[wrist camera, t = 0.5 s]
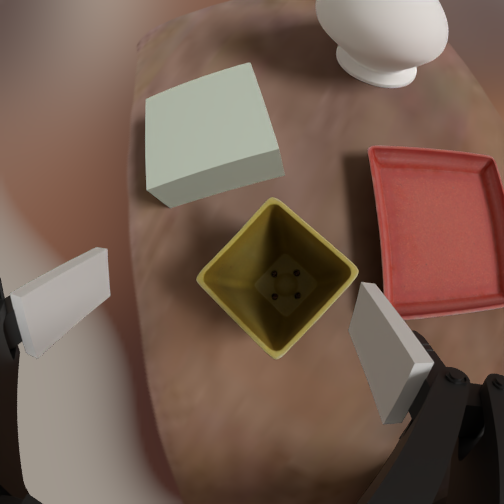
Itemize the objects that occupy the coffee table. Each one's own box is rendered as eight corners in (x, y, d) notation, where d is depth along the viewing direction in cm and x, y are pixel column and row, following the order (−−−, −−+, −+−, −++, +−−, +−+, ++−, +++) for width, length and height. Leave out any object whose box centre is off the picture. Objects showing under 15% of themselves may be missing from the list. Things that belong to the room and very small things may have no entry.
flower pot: (286, 347, 28) (275, 363, 19) (226, 288, 30) (192, 278, 21) (346, 283, 28) (362, 270, 19) (283, 227, 30) (272, 193, 22)
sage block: (285, 176, 32) (279, 148, 26) (171, 209, 34) (146, 190, 28) (259, 92, 35) (250, 62, 29) (165, 123, 37) (146, 99, 31)
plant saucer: (483, 166, 27) (494, 154, 24) (506, 306, 23) (521, 304, 20) (361, 159, 30) (365, 144, 27) (375, 321, 27) (383, 322, 23)
